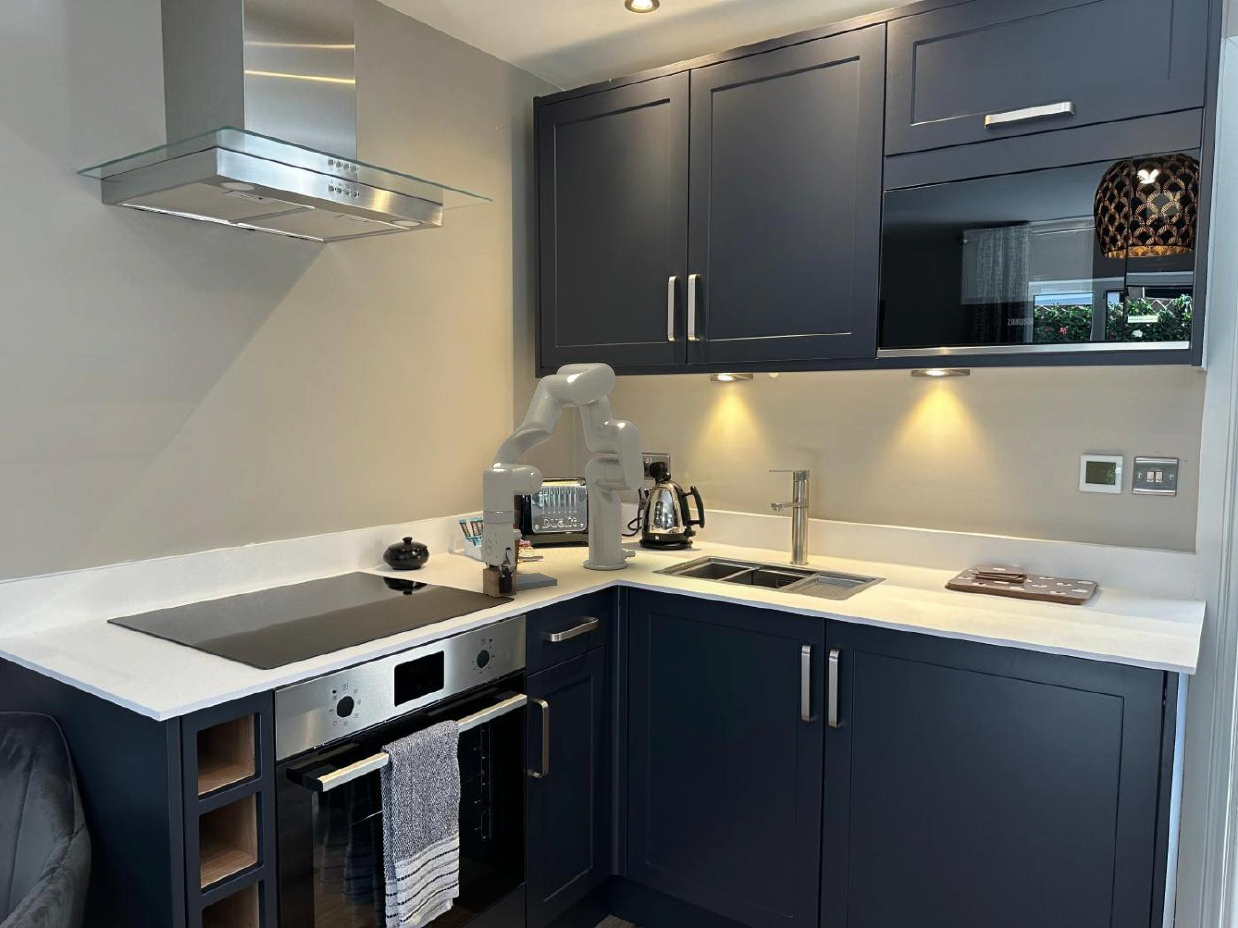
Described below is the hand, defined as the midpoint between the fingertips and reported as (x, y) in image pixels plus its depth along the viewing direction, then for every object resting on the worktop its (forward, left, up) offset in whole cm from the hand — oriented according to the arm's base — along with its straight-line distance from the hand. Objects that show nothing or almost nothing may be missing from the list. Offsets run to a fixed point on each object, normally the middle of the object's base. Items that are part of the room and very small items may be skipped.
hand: (499, 589), depth 205 cm
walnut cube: (0, 0, -1) cm, 1 cm away
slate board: (-11, -6, -1) cm, 12 cm away
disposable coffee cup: (-12, -21, -1) cm, 24 cm away
